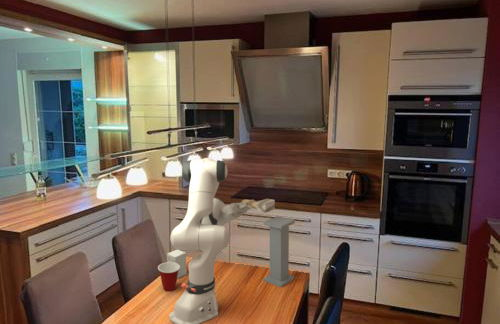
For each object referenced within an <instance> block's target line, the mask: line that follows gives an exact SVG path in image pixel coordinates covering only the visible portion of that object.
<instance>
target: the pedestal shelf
mask: <svg viewBox="0 0 500 324" xmlns="http://www.w3.org/2000/svg"><path fill="white" fill-rule="evenodd" d="M293 224H296V220H295V219H291V218H287V217H282V216H274V217H272V218H270V219H267V220H264V221H263V225H264V226H266V227H269V274H268V275H267V276H265V277H263V281H264V282H265V283H267V284H271V285H274V286H275V287H276V286H277V287H278V288H283V287H284V286H285V285H287V284H289V283H291V281H293V280H294V279H295V276H294V275H292V274H289V267H290V266H289V263H290V261H289V258H290V255H289V253H290V252H289V251H290V250H289V249H290V248H289V247H290V245H289V244H290V236H289V235H290V234H289V232H290V226H292V225H293Z"/></svg>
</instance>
